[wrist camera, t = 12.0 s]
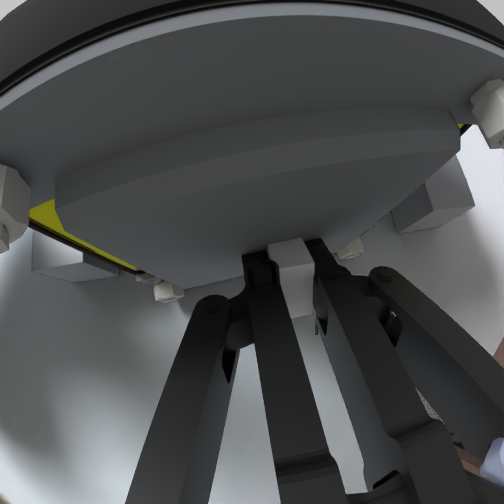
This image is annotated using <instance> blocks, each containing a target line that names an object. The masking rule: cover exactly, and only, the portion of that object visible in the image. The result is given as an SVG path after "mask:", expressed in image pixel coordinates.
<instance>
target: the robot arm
mask: <svg viewBox="0 0 504 504" xmlns="http://www.w3.org/2000/svg"><path fill="white" fill-rule="evenodd" d="M241 257H242V264H243V272H244V279H245V288H244V290H243V291H242V292H241V293H240V294H239V295H237V296H235V297H233V298H231V299H227V298H226V297H224V296H221V295H209V296H207V297H204V298H202V299H201V300H200V301H198V303H197V304H196V306H195V308H194V311H193V313H192V316H191V318H190V321H189V323H188V326H187V328H186V331H185V334H184V336H183V339H182V341H181V344H180V347H179V349H178V352H177V354H176V357H175V360H174V362H173V365H172V368H171V370H170V373H169V376H168V379H167V381H166V384H165V387H164V389H163V392H162V395H161V398H160V401H159V403H158V406H157V409H156V412H155V415H154V417H153V420H152V423H151V426H150V429H149V432H148V435H147V438H146V440H145V443H144V446H143V449H142V452H141V455H140V458H139V461H138V464H137V467H136V470H135V474H134V477H133V480H132V483H131V486H130V489H129V492H128V496H127V499H126V502H125V504H208V501H209V497H210V492H211V487H212V483H213V478H214V473H215V469H216V464H217V459H218V455H219V450H220V445H221V440H222V436H223V431H224V426H225V421H226V416H227V412H228V407H229V402H230V397H231V392H232V387H233V382H234V378H235V373H236V368H237V363H238V358H239V353H240V349H241V348H243V347H246V346H248V345H250V344H253V343H254V344H255V350H256V357H257V363H258V369H259V375H260V382H261V388H262V394H263V400H264V406H265V412H266V418H267V424H268V430H269V436H270V442H271V448H272V454H273V460H274V466H275V472H276V478H277V483H278V489H279V495H280V500H281V504H504V368H503V367H502V366H501V365H500V364H499V363H498V362H497V361H496V360H495V359H494V358H493V357H492V356H491V355H490V354H489V353H488V352H487V351H486V350H485V349H484V348H483V347H482V346H481V345H480V344H479V343H478V342H477V341H476V340H475V339H474V338H473V337H471V336H470V335H469V334H468V333H467V332H466V331H465V330H464V329H463V328H462V327H461V326H460V325H459V324H458V323H456V322H455V321H454V320H453V319H452V318H451V317H450V316H449V315H448V314H446V313H445V312H444V311H443V310H442V309H441V308H440V307H439V306H437V305H436V304H435V303H434V302H433V301H432V300H431V299H429V298H428V297H427V296H426V295H425V294H424V293H422V292H421V291H420V290H419V289H418V288H416V287H415V286H414V285H413V284H412V283H410V282H409V281H408V280H407V279H406V278H404V277H403V276H402V275H401V274H400V273H398V272H397V271H396V270H394V269H392V268H389V267H384V266H380V267H375V268H374V269H372V270H371V272H370V273H369V276H355V275H351V273H350V272H349V271H348V270H347V269H346V268H345V267H343V266H340V265H338V264H337V262H336V261H335V259H334V257H333V256H332V254H331V253H330V251H329V249H328V248H327V246H326V245H325V243H324V241H323V240H322V239H321V238H317V239H313V240H308V241H303V239H302V238H296V239H291V240H287V241H282V242H277V243H273V244H268V246H267V250H264V251H259V252H254V253H250V254H245V255H241ZM313 306H314V309H315V311H316V323H315V335H318V329H319V332H320V335H321V338H322V340H323V343H324V346H325V349H326V351H327V354H328V357H329V360H330V362H331V365H332V368H333V371H334V374H335V376H336V379H337V382H338V385H339V388H340V391H341V394H342V397H343V399H344V402H345V405H346V408H347V411H348V414H349V417H350V420H351V423H352V426H353V429H354V432H355V435H356V438H357V442H358V445H359V448H360V451H361V454H362V457H363V461H364V470H363V472H364V479H365V483H366V486H367V490H368V492H367V493H357V494H346V493H345V490H344V486H343V482H342V478H341V475H340V471H339V468H338V465H337V463H336V461H335V459H334V458H333V457H332V456H331V454H330V452H329V449H328V445H327V442H326V438H325V434H324V431H323V427H322V424H321V420H320V417H319V413H318V410H317V406H316V402H315V399H314V395H313V392H312V389H311V385H310V382H309V378H308V375H307V371H306V368H305V364H304V361H303V358H302V354H301V351H300V347H299V344H298V341H297V337H296V334H295V331H294V327H293V324H292V321H291V318H297V317H302V316H308V315H313ZM392 311H393V312H394V313H395V314H396V315H397V316H396V317H395V316H394V315H393V314H392ZM414 386H415V387H416V389H417V390H418V391H419V392H420V393H421V394H422V396H423V397H424V398H425V399H426V400H427V402H428V403H429V404H430V405H431V406H432V408H433V409H434V410H435V411H436V413H437V414H438V415H439V416H440V417H441V419H442V420H443V421H444V422H445V424H446V425H447V426H448V427H449V428H450V430H451V431H452V432H453V433H454V435H455V436H456V437H457V438H458V440H459V441H460V442H461V443H462V444H463V446H464V447H465V448H466V449H467V450H468V451H469V452H470V453H471V454H472V455H474V456H475V457H476V458H477V459H479V460H481V461H482V462H484V463H483V464H482V465H481V467H480V474H481V476H483V477H489V478H490V479H491V480H492V482H491V481H489V480H487V479H484V478H482V477H480V476H478V475H475V474H473V473H471V472H469V471H467V470H465V469H464V467H463V464H462V462H461V460H460V457H459V455H458V452H457V450H456V448H455V445H454V443H453V441H452V439H451V436H450V434H449V432H448V430H447V428H446V426H445V425H444V423H443V422H441V421H440V420H438V419H432V418H431V417H429V415H428V413H427V411H426V409H425V407H424V405H423V403H422V401H421V399H420V397H419V395H418V393H417V391H416V389H415V387H414Z"/></svg>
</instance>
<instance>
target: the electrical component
mask: <svg viewBox="0 0 504 504" xmlns="http://www.w3.org/2000/svg"><path fill="white" fill-rule="evenodd" d="M472 124H475V125H478V127H479V129H480V131H481V132H482V134H483V136H484V138H485V140H486V142H487V144H488V146H489V148H490V149H498V148H503V149H504V25H503V24H502V23H501V22H500V21H499V20H498V19H497V18H496V17H495V16H493V15H492V14H491V13H490V12H489V11H488V10H487V9H486V8H485V7H484V6H483V5H481V4H480V3H479V2H478V1H477V0H27V1H25V2H24V3H22V4H21V5H20V6H18V7H17V8H15V9H14V10H12V11H11V12H10V13H8V14H7V15H6V16H5V17H4V18H3V19H2V20H1V21H0V254H1V253H3V252H5V251H7V250H9V243H12V242H14V241H15V240H17V239H18V238H20V237H21V236H22V235H23V233H24V232H25V230H26V229H27V227H30V228H32V229H34V230H36V231H38V232H40V233H42V234H44V235H46V236H48V237H50V238H52V239H54V240H57V241H59V242H61V243H63V244H65V245H67V246H69V247H72V248H74V249H76V250H78V251H80V252H83V253H85V254H87V255H89V256H92V257H94V258H96V259H99V260H101V261H103V262H106V263H108V264H110V265H113V266H115V267H117V268H120V269H122V270H124V271H127V272H129V273H132V274H134V275H136V281H137V282H139V283H142V284H145V285H148V286H151V287H154V288H153V289H154V295H155V300H156V301H159V302H162V303H168V302H173V301H177V300H178V299H179V298H182V297H183V296H184V295H185V293H184V289H189V288H193V287H197V286H202V285H206V284H210V283H215V282H219V281H223V280H227V279H232V278H236V277H240V276H244V272H243V264H242V257H241V255H245V254H250V253H254V252H259V251H264V250H267V246H268V244H273V243H277V242H282V241H287V240H291V239H296V238H302V239H303V241H308V240H313V239H317V238H321V239H322V240H323V241H324V243H325V245H326V246H327V248H328V249H329V251H330V253H331V254H333V253H337V254H338V257H339V258H340V259H344V258H345V259H350V258H354V257H357V256H359V255H361V254H360V253H362V252H363V251H365V249H364V246H363V243H362V240H361V238H360V236H362V235H363V234H364V233H365V232H367V231H368V230H369V229H371V228H372V227H373V226H374V224H375V223H376V222H378V221H379V220H380V219H381V218H382V217H384V216H385V215H386V214H387V213H389V212H390V211H391V210H392V209H393V208H395V207H396V206H397V205H398V204H399V203H401V202H402V201H403V200H404V199H405V198H406V197H408V196H409V195H410V194H411V193H412V192H413V191H415V190H416V189H417V188H418V187H419V186H420V185H422V184H423V183H424V182H425V181H426V180H427V179H429V178H430V177H431V176H432V175H433V174H434V173H435V172H436V171H438V170H439V169H440V168H441V167H442V166H443V165H444V164H445V163H447V162H448V161H449V160H450V159H451V158H452V157H453V156H454V155H455V154H456V153H457V152H459V151H460V137H461V136H462V135H463V134H464V133H465V132H466V131H467V130H468V129H469V128H470V127H471V125H472Z"/></svg>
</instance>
